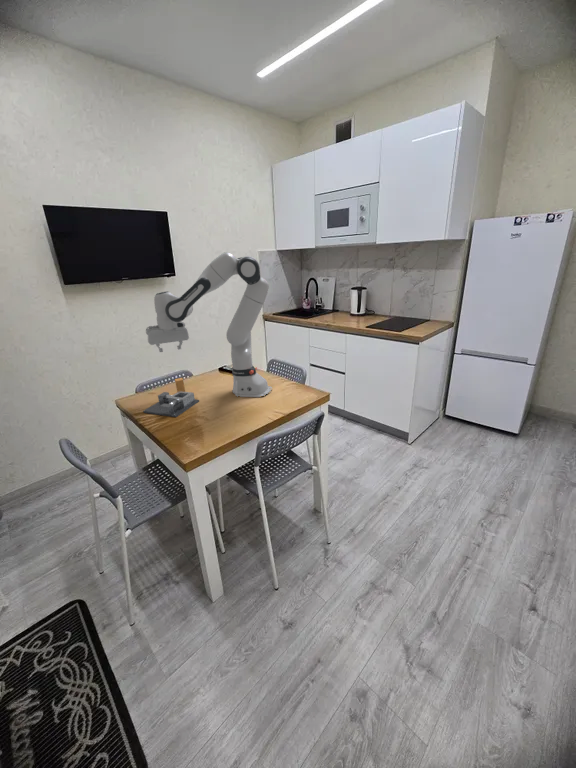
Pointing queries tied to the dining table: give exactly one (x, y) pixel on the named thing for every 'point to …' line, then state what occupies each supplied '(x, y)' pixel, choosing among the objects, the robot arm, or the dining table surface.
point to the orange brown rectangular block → (180, 384)
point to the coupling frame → (172, 404)
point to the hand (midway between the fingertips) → (170, 350)
